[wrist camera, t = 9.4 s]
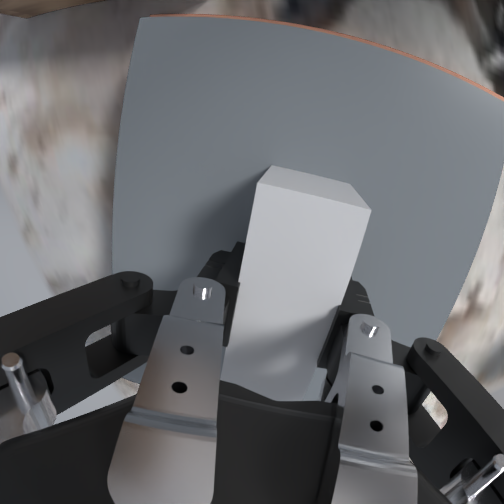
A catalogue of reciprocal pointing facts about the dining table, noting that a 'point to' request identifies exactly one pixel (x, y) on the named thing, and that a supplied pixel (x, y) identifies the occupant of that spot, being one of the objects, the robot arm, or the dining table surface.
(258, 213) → the lid
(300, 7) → the dining table surface
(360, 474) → the robot arm
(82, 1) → the box
